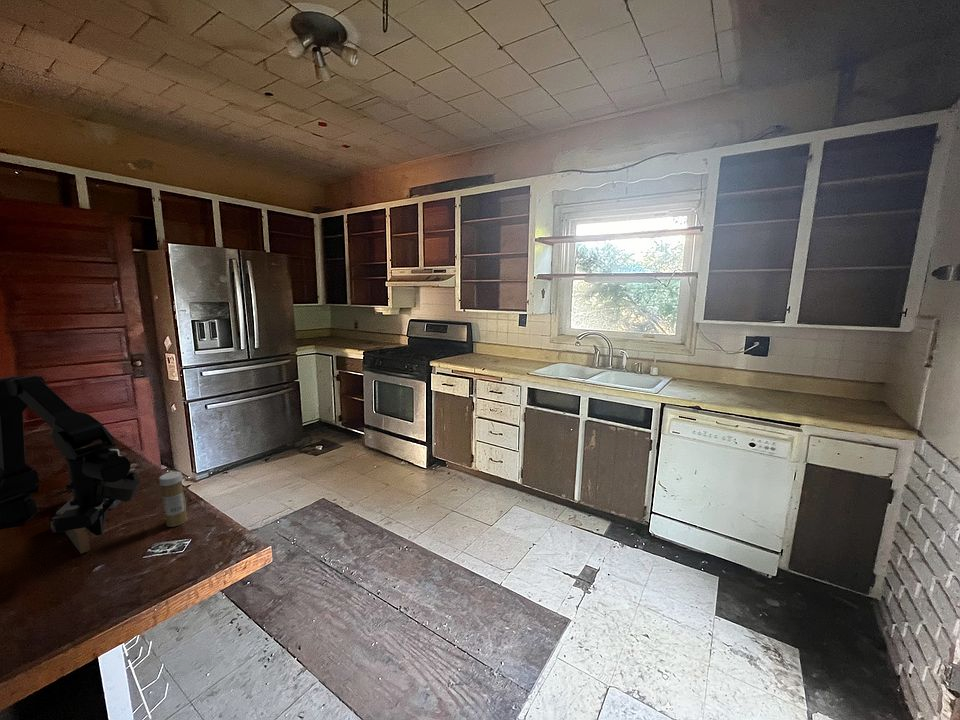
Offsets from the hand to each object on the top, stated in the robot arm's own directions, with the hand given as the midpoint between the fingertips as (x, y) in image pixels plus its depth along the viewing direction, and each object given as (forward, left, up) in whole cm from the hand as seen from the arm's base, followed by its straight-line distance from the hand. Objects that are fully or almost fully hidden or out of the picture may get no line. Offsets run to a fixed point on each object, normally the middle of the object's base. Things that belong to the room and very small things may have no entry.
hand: (99, 534), depth 94 cm
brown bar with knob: (-7, +5, -2) cm, 9 cm away
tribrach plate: (-10, +24, -3) cm, 26 cm away
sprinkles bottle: (+14, +4, -3) cm, 15 cm away
